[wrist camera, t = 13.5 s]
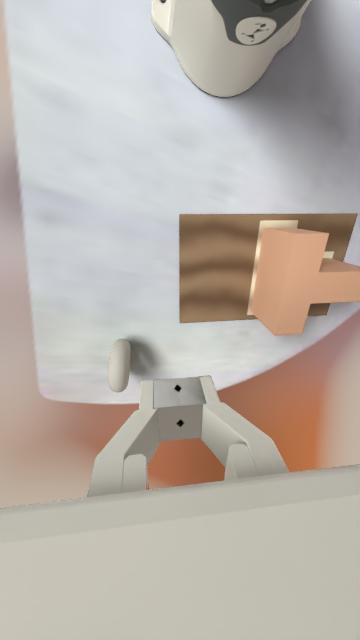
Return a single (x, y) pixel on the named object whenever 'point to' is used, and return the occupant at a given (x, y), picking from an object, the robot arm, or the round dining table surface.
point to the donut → (119, 365)
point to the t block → (298, 279)
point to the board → (240, 259)
